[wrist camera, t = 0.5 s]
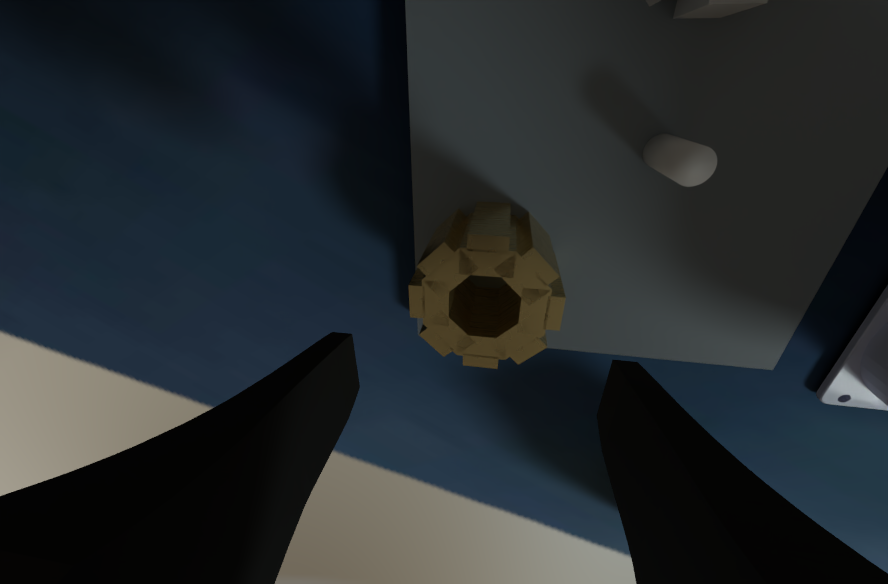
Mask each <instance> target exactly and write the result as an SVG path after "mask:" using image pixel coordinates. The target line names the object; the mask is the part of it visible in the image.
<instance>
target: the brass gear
mask: <svg viewBox="0 0 888 584" xmlns="http://www.w3.org/2000/svg"><path fill="white" fill-rule="evenodd" d="M510 204H511V203H500V202H478V201H477V204H476V207H475V210H474V213H470V214H469V215H468V216H466V215H465V214H464V213H463V212H462V211H461V210H460V209H459V208H458V209H457V210H456V211H455V212H454V213H453V214H452V215H451V216H449V217H448V218H447V219H446V220H445V221H444V222H443V223H442V224H441V225H440V226H439V227H438V228H436V230H435V232H434V234H433V236H432V238H431V240H430V242H429V243H428V245H427V247H426V249H425V251H424V253H423V255H422V257H421V259H420V261H419V263H418V264H417V267H418V268H417V270H416V272H415V274H414V275H413V277H412V279H411V281H410V283H409V305H410V317H414V318H423V325H422V328H421V330H420V333H419V335H420V336H421V337H422V338H423V339H424V340H426V341H427V342H428V343H429V344H430V345H431V346H432V347H433V348H434V349H435V350H437V351H438V352H439V353H440V354H441V355H442V356H443V357H444V356H446V355H447V354H449V353H450V352H452V351H453V352H454V353H455V354H456V355H463V365H465V366H475V367H484V368H493V369H498V359H502V360H505V359H507V358H509V357H511V358H512V359H513V360H514V361H515V362H516V363H517V364H518V365H519V364H520V363H522V362H524V361H525V360H527V359H529V358H530V357H532V356H534V355H535V354H537V353H539V352H540V351H542V350H544V349H545V348H547V339H546V332H545V330H557V331H560V326H561V321H562V316H563V310H564V305H565V300H566V296H565V292H564V288H563V284H562V280H561V276H560V272H559V268H558V264H557V260H556V256H555V253H554V251H553V247H552V243H551V239H550V235H549V234H548V233H547V232H546V231H545V230H544V228H543V227H542V226H541V225H540V224H539V223H538V222H537V220H536V219H535V218H534V217H533V216H532V215H531V214H530V212H527V213H526V214H525V215H524V216H523V217H521V218H520V219H519V218H518V217H517V216H516V215H510ZM470 275H476V276H490V277H502V278H503V279H504V280H505V282H506V284H505V285H503V286H502V287H501V288H487V287H476V286H475V285H474V284H473V283H472V282H471V281H470V280H469V279H468V278H467V277H469V276H470Z"/></svg>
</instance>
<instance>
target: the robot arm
mask: <svg viewBox="0 0 888 584" xmlns="http://www.w3.org/2000/svg"><path fill="white" fill-rule="evenodd" d="M359 388H360V385H359V378H358V371H357V365H356V358H355V351H354V344H353V337H352V334H347V333H337V332H332V333H330V334H328V335H327V336H325V337H324V338H322V339H321V340H319V341H318V342H316V343H315V344H313V345H312V346H310V347H309V348H308V349H306V350H305V351H303V352H302V353H300V354H299V355H297V356H296V357H295V358H293V359H292V360H290V361H289V362H287V363H286V364H284V365H283V366H281V367H280V368H278V369H277V370H275V371H274V372H272V373H271V374H269V375H268V376H266V377H264V378H263V379H261V380H260V381H258V382H256V383H255V384H253V385H252V386H250V387H248V388H247V389H245V390H244V391H242V392H240V393H239V394H237V395H236V396H234V397H232V398H230V399H229V400H227V401H225V402H223V403H222V404H220V405H218V406H216V407H215V408H213V409H211V410H209V411H207V412H205V413H203V414H201V415H199V416H197V417H196V418H194V419H192V420H190V421H188V422H186V423H184V424H182V425H180V426H178V427H175V428H173V429H171V430H169V431H167V432H164V433H162V434H160V435H158V436H156V437H154V438H151V439H149V440H147V441H145V442H143V443H141V444H138V445H136V446H134V447H132V448H129V449H127V450H124V451H122V452H120V453H117V454H115V455H112V456H110V457H108V458H105V459H102V460H100V461H97V462H95V463H92V464H90V465H87V466H84V467H82V468H79V469H77V470H74V471H72V472H69V473H66V474H63V475H61V476H58V477H55V478H53V479H49V480H46V481H43V482H41V483H38V484H35V485H32V486H29V487H26V488H23V489H20V490H17V491H14V492H11V493H8V494H6V495H3V496H0V584H275V581H276V578H277V575H278V573H279V570H280V568H281V565H282V562H283V560H284V557H285V554H286V551H287V549H288V546H289V544H290V541H291V539H292V536H293V534H294V531H295V529H296V526H297V524H298V521H299V519H300V516H301V514H302V511H303V509H304V506H305V504H306V502H307V500H308V498H309V496H310V494H311V491H312V489H313V487H314V486H315V484H316V482H317V479H318V478H319V476H320V474H321V472H322V470H323V468H324V466H325V464H326V462H327V460H328V458H329V456H330V454H331V452H332V450H333V449H334V447H335V445H336V443H337V441H338V439H339V437H340V435H341V433H342V431H343V429H344V427H345V425H346V423H347V421H348V419H349V416H350V413H351V411H352V408H353V405H354V402H355V399H356V397H357V394H358V391H359ZM816 396H817V398H818V399H819V400H820V401H822V402H823V403H826V404H833V405H842V406H851V407H861V408H870V409H879V410H888V285H887V287H886V288H885V290H884V291H883V293H882V294H881V296H880V297H879V299H878V300H877V302H876V303H875V305H874V306H873V308H872V309H871V311H870V312H869V314H868V315H867V317H866V318H865V320H864V321H863V323H862V324H861V326H860V327H859V329H858V330H857V332H856V333H855V335H854V336H853V338H852V339H851V341H850V342H849V344H848V345H847V347H846V348H845V350H844V351H843V353H842V354H841V356H840V357H839V359H838V360H837V362H836V363H835V365H834V366H833V368H832V369H831V371H830V372H829V374H828V375H827V377H826V378H825V380H824V381H823V383H822V384H821V386H820V387H819V389H818V390H817V392H816ZM597 420H598V427H599V434H600V441H601V447H602V452H603V456H604V460H605V464H606V467H607V471H608V475H609V478H610V482H611V485H612V489H613V492H614V496H615V499H616V503H617V506H618V510H619V513H620V517H621V520H622V524H623V528H624V531H625V535H626V538H627V542H628V546H629V550H630V554H631V558H632V562H633V567H634V572H635V578H636V583H637V584H888V574H887V573H886V572H885V571H883V570H882V569H880V568H879V567H877V566H876V565H874V564H873V563H871V562H870V561H869V560H867V559H866V558H864V557H863V556H862V555H860V554H859V553H857V552H856V551H855V550H853V549H852V548H850V547H849V546H848V545H846V544H845V543H843V542H842V541H841V540H839V539H838V538H836V537H835V536H834V535H832V534H831V533H829V532H828V531H827V530H825V529H824V528H823V527H821V526H820V525H819V524H817V523H816V522H815V521H813V520H812V519H811V518H809V517H808V516H807V515H805V514H804V513H803V512H801V511H800V510H799V509H797V508H796V507H795V506H794V505H792V504H791V503H790V502H789V501H787V500H786V499H785V498H784V497H782V496H781V495H780V494H779V493H777V492H776V491H775V490H774V489H772V488H771V487H770V486H769V485H767V484H766V483H765V482H764V481H762V480H761V479H760V478H759V477H757V476H756V475H755V474H754V473H753V472H752V471H750V470H749V469H748V468H747V467H746V466H744V465H743V464H742V463H741V462H740V461H739V460H738V459H737V458H735V457H734V456H733V455H732V454H731V453H730V452H729V451H728V450H727V449H725V448H724V447H723V446H722V445H721V444H720V443H719V442H718V441H717V440H715V439H714V438H713V437H712V436H711V435H710V434H709V433H708V432H707V431H706V430H705V429H704V428H703V427H702V426H701V425H700V424H698V423H697V422H696V421H695V420H694V419H693V418H692V417H691V416H690V415H689V414H688V413H687V412H686V411H685V410H684V409H683V408H682V407H681V406H680V405H679V404H678V403H677V402H676V401H675V400H674V399H673V398H672V397H671V396H670V395H669V394H668V393H667V392H666V391H665V390H664V389H663V388H662V387H661V385H660V384H659V383H658V382H657V381H656V380H655V379H654V378H653V377H652V376H651V375H650V374H649V373H648V372H647V371H646V370H645V369H644V368H643V367H642V366H641V365H640V364H639V363H638V362H631V361H621V360H613V361H612V364H611V368H610V371H609V375H608V378H607V382H606V385H605V389H604V392H603V396H602V399H601V403H600V406H599V410H598V413H597Z"/></svg>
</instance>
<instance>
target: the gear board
mask: <svg viewBox="0 0 888 584" xmlns="http://www.w3.org/2000/svg"><path fill="white" fill-rule="evenodd" d="M405 8H406V34H407V60H408V87H409V113H410V139H411V165H412V191H413V217H414V243H415V269H416V270H417V268H418V267H417V264H418V263H419V261H420V259H421V257H422V255H423V253H424V251H425V249H426V247H427V245H428V243H429V242H430V240H431V238H432V236H433V234H434V232H435V230H436V228H438V227H439V226H440V225H441V224H442V223H443V222H444V221H445V220H446V219H447V218H448V217H449V216H451V215H452V214H453V213H454V212H455V211H456V210H457V209H458V208H459V209H460V210H461V211H462V212H463V213H464V214H465V215H466V216H468V215H469V214H470V213H474V210H475V207H476V204H477V201H478V202H500V203H511V204H510V215H516V216H517V217H518V218H519V219H520V218H521V217H523V216H524V215H525V214H526V213H527V212H530V214H531V215H532V216H533V217H534V218H535V219H536V220H537V222H538V223H539V224H540V225H541V226H542V227H543V228H544V230H545V231H546V232H547V233H548V234H549V235H550V239H551V243H552V247H553V251H554V253H555V256H556V260H557V264H558V268H559V272H560V276H561V280H562V284H563V288H564V292H565V296H566V300H565V305H564V310H563V316H562V321H561V326H560V331H557V330H545V332H546V339H547V348H553V349H563V350H573V351H584V352H594V353H604V354H614V355H625V356H635V357H645V358H655V359H666V360H676V361H686V362H696V363H707V364H717V365H727V366H737V367H748V368H758V369H768V370H773V369H774V367H775V365H776V363H777V362H778V360H779V358H780V356H781V355H782V353H783V351H784V349H785V348H786V346H787V344H788V342H789V340H790V339H791V337H792V335H793V333H794V332H795V330H796V328H797V326H798V325H799V323H800V321H801V319H802V317H803V316H804V314H805V312H806V310H807V309H808V307H809V305H810V303H811V302H812V300H813V298H814V296H815V294H816V293H817V291H818V289H819V287H820V286H821V284H822V282H823V280H824V279H825V277H826V275H827V273H828V271H829V270H830V268H831V266H832V264H833V263H834V261H835V259H836V257H837V256H838V254H839V252H840V250H841V248H842V247H843V245H844V243H845V241H846V240H847V238H848V236H849V234H850V233H851V231H852V229H853V227H854V225H855V224H856V222H857V220H858V218H859V217H860V215H861V213H862V211H863V210H864V208H865V206H866V204H867V202H868V201H869V199H870V197H871V195H872V194H873V192H874V190H875V188H876V187H877V185H878V183H879V181H880V179H881V178H882V176H883V174H884V172H885V171H886V169H887V167H888V0H405ZM467 278H468V279H469V280H470V281H471V282H472V283H473V284H474V285H475V286H476V287H487V288H501V287H502V286H503V285H505V284H506V282H505V280H504V279H503V278H502V277H490V276H476V275H470V276H469V277H467ZM417 321H418V335H419V333H420V330H421V328H422V325H423V318H417Z"/></svg>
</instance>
